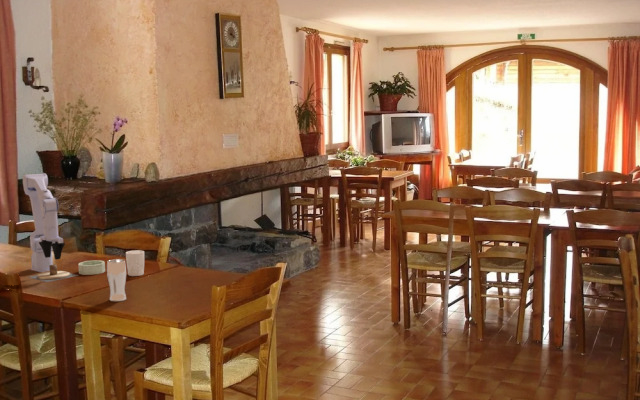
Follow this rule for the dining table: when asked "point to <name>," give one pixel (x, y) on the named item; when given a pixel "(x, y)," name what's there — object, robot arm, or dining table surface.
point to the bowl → (91, 267)
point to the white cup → (135, 262)
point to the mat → (53, 279)
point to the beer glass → (116, 279)
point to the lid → (53, 274)
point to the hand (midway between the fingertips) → (52, 258)
